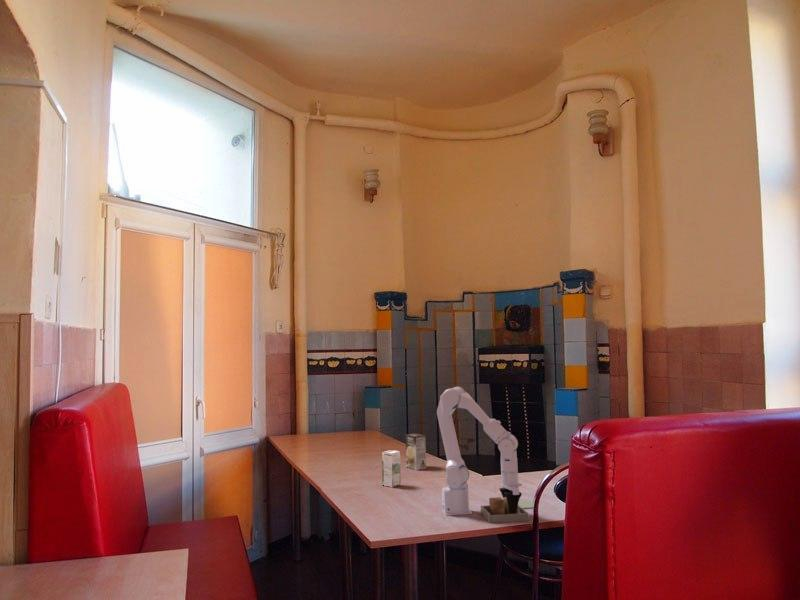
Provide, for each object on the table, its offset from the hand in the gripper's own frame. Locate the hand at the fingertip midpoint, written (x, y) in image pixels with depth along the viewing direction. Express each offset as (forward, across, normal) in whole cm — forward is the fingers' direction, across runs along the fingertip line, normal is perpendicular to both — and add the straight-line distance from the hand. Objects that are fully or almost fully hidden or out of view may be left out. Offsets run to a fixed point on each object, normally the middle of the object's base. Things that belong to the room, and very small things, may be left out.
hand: (511, 511), depth 202 cm
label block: (+2, 0, 0) cm, 2 cm away
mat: (+2, +12, -8) cm, 14 cm away
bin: (+2, 0, +2) cm, 3 cm away
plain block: (+2, 0, +5) cm, 5 cm away
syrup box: (+2, +54, +36) cm, 65 cm away
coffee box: (+2, +87, +22) cm, 90 cm away
